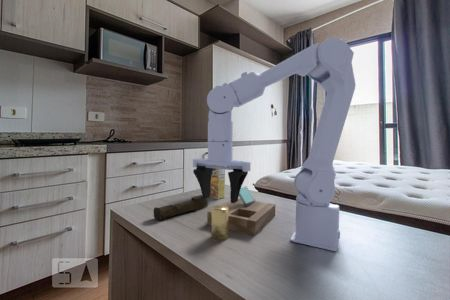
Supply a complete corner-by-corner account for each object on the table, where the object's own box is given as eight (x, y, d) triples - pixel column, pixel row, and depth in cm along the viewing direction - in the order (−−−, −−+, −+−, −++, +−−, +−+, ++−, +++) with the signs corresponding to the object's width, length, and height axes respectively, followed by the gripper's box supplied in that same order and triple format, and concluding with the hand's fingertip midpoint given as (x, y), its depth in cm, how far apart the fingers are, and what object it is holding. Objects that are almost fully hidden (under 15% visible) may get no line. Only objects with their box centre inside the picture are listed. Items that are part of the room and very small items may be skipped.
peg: (231, 235, 53) (231, 207, 53) (222, 242, 50) (222, 211, 49) (217, 232, 55) (217, 204, 55) (208, 238, 52) (208, 209, 51)
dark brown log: (158, 223, 61) (158, 207, 61) (152, 219, 64) (152, 203, 64) (212, 209, 74) (212, 195, 74) (205, 206, 77) (205, 193, 77)
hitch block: (275, 215, 67) (275, 204, 67) (255, 235, 53) (255, 221, 53) (234, 208, 74) (234, 197, 74) (207, 224, 60) (207, 211, 60)
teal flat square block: (253, 202, 70) (255, 200, 69) (245, 207, 64) (247, 205, 64) (244, 187, 71) (246, 185, 70) (235, 190, 66) (238, 189, 65)
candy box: (202, 195, 90) (202, 158, 89) (209, 193, 93) (209, 157, 93) (218, 199, 84) (218, 159, 84) (225, 197, 88) (225, 158, 87)
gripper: (256, 142, 51) (255, 199, 52) (204, 141, 58) (204, 192, 59) (243, 142, 45) (242, 208, 46) (187, 141, 52) (187, 198, 53)
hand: (219, 199), depth 52 cm, fingers open, 7 cm apart
